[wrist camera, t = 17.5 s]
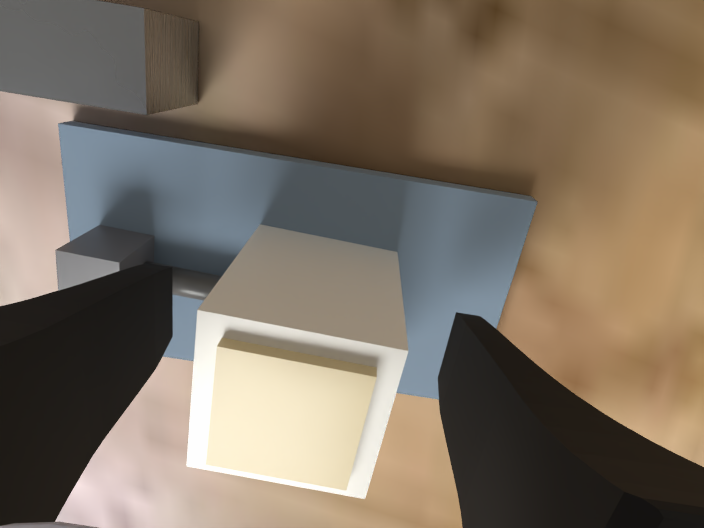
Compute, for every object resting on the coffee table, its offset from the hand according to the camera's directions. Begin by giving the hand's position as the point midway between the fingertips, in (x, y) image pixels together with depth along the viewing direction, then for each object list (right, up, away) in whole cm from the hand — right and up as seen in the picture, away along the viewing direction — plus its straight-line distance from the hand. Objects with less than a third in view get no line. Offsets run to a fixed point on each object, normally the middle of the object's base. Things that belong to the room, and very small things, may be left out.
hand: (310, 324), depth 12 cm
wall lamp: (-2, +1, +2) cm, 3 cm away
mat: (-1, +1, +3) cm, 3 cm away
